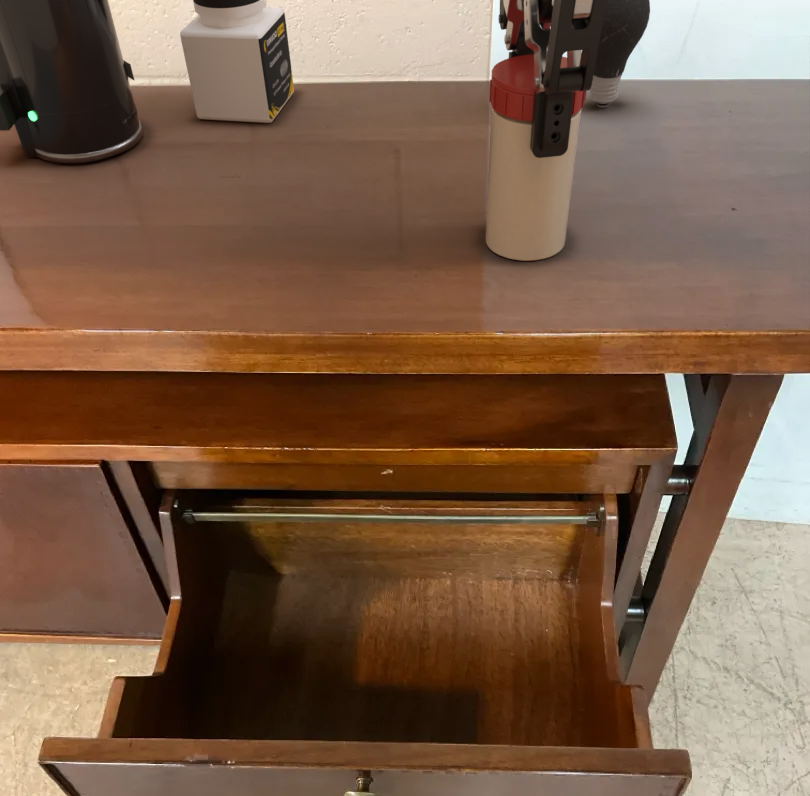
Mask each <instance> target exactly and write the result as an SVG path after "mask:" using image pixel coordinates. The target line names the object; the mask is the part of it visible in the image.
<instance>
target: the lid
mask: <svg viewBox="0 0 810 796" xmlns="http://www.w3.org/2000/svg"><path fill="white" fill-rule="evenodd" d="M566 67H567V56H562V60H561V66H560V68H566ZM534 78H535V75H534V54H531V55H521V56H516V57H511V58H509V57H508V58H506V59H503V60H501V61H499V62H497V63H496V64H495V65H494V66H493V68H492V69H491V79H489V97H488V99H489V100H488V102H489V103H490V106H491V108H492V107H493V109H494V110H495V111H497V112H498V113H500V114H501V115H504V116H506V117H509V118H512V119H517V120H523V121H532V115H533V102H534V90H535V87H534ZM586 99H587V91H574V98H573V107H572V115H574V114H576V113H578V112H579V111H580V110H581V109H584V106H585V101H586ZM581 111H582V110H581Z"/></svg>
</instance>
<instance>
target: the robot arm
mask: <svg viewBox="0 0 810 796" xmlns="http://www.w3.org/2000/svg"><path fill="white" fill-rule="evenodd" d="M606 3H607V0H499V14H498V24H499V28H500V30H503V31H504V30H505V35H504V45H505V48H506V51H509V52H508V58H511V57H516V56H521V55H531V54H534V75H535V78H534V87H535V90H534V102H533V115H532V128H531V141H530V149H531V151H532V153H533V154H534V156H535V157H537V158H544V157H554V156H561V155H563V154H565V153H566V151H567V149H568V143H569V134H570V125H571V116H572V107H573V98H574V91H586V92H588V91H590V89H591V86H592V81H593V75H594V69H595V64H596V58H597V53H598V47H599V42H600V36H601V31H602V25H603V19H604V14H605V8H606ZM565 53H566V57H567V67H566V68H560V66H561V60H562V57H564V56H563V55H564V54H565ZM129 79H131V80H132V81H135V76H134V71H133V69H132V65H131V63H129V62H127V61H126V60H124V57H123V53H122V49H121V45H120V42H119V37H118V34H117V30H116V26H115V23H114V18H113V15H112V10H111V6H110V3H109V0H0V132H2V131H3V132H5V131H6V132H7V131H10V130H11V129H12V128H13V127H14V128H15V130H16V133H17V136H18V138H19V141H20V144H21V146H22V149H23V152H24V155H25V157H26V158H27V157H28V158H31V157H33V158H34V157H36V158H40V159H42V160H44V161H48V162H53V163H60V164H81V163H89V162H90V163H91V162H95V161H96V162H97V161H101V160H104V159H107V158H111V157H114V156H117V155H119V154H121V153H124V152H126V151H128V150H130V149H131V148H132V147H134V146H135V145H137V143H139V142H140V141H141V139H142V137H143V133H144V130H143V126H142V123H141V120H140V119H139V116H138V109H137V105H136V103H135V100H134V96H133V92H132V88H131V84H130V81H129Z"/></svg>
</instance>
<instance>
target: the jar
mask: <svg viewBox="0 0 810 796" xmlns="http://www.w3.org/2000/svg"><path fill="white" fill-rule="evenodd" d="M582 109H583V108H582ZM582 109H581V110H580V111H579V112H578V113H576V114H574V115H572V116H571V125H570V134H569V143H568V149H567V151H566V153H565V154H563V155H561V156H554V157H544V158H537V157H535V156H534V154H533V153H532V151H531V149H530V141H531V128H532V121H523V120H517V119H512V118H509V117H506V116H504V115H501V114H500V113H498V112H497V111H495V110H494V109H493V107H492V106H491V116H490V135H489V136H490V137H489V157H488V159H489V160H488V178H487V180H488V181H487V201H486V219H485V220H486V221H485V243H486V246H487V248H489V250H490V251H491V252H493V253H494V254H496V255H497V256H501V257H503V258H506V259H510V260H516V261H523V262H525V261H527V262H529V261H540V260H544V259H548V258H551V257H553V256H555V255H557V254H559V253H560V252H561V251H562V250H563V248H564V247H565V245H566V240H567V232H568V231H567V230H568V225H569V223H568V222H569V215H570V208H571V207H570V206H571V199H572V189H573V182H574V174H575V165H576V157H577V149H578V141H579V133H580V124H581V116H582Z"/></svg>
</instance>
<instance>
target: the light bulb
mask: <svg viewBox="0 0 810 796" xmlns="http://www.w3.org/2000/svg"><path fill="white" fill-rule="evenodd" d="M650 14H651V3H650V0H607V3H606V8H605V14H604V19H603V25H602V31H601V36H600V42H599V47H598V53H597V58H596V64H595V69H594V75H593V81H592V86H591V89H590V90H589V93H590V94H589V98H590V99H591V100H592V101H593V102H594V103H596V106H597V107H598V108H606V107H608V106H609V104H611V103H613V102H614V101H615V100H617V98H618V95H619V93H620V92H619V91H620V85H621V79H622V76H623V73H624V71H625V69H626V67H627V62H628V60H629V58H630V56H631V55H632V53H633V51H634V50H635V48H636V46H637V45H638V44H639V42H640V41H641V39H642V37H643V36H644V34H645V32H646V29H647V27H648V24H649V21H650Z"/></svg>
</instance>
